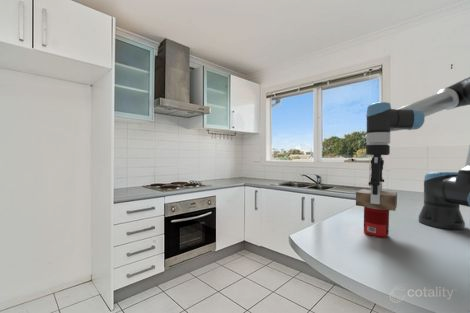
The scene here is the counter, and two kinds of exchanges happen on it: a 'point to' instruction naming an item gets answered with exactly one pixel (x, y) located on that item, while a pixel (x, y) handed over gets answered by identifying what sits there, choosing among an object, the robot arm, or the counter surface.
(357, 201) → the brown wooden block
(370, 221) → the canned food
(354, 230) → the counter surface
